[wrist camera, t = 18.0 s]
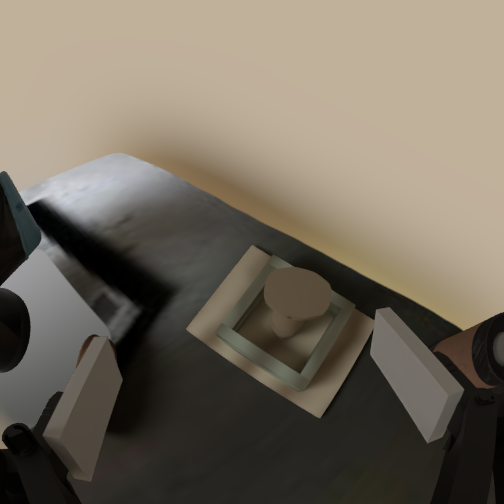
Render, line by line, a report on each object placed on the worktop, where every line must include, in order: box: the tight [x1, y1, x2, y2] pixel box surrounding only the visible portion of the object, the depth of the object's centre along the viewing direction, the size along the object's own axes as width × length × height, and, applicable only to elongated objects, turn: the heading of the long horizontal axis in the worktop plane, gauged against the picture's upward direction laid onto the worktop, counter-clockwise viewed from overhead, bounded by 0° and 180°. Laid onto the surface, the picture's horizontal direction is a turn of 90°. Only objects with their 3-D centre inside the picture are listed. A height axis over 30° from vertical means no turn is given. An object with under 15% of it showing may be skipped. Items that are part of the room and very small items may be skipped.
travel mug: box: [428, 312, 504, 389], centre depth 32 cm, size 8×8×20 cm
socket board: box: [186, 245, 375, 418], centre depth 42 cm, size 22×16×6 cm
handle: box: [264, 267, 332, 339], centre depth 37 cm, size 5×6×15 cm
